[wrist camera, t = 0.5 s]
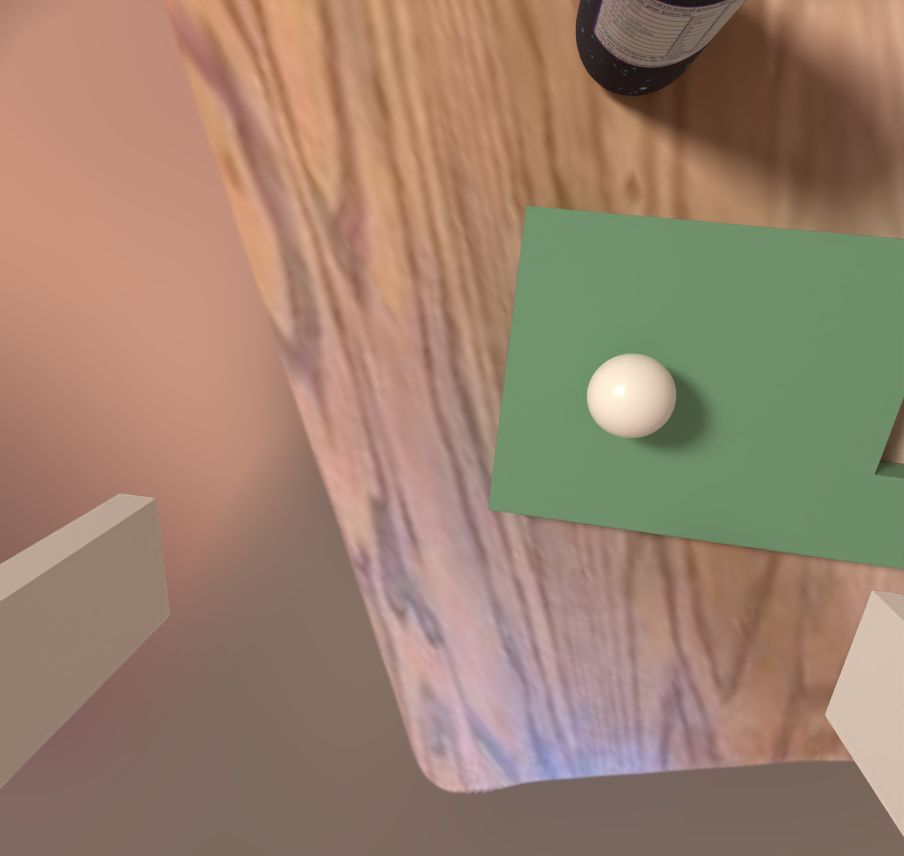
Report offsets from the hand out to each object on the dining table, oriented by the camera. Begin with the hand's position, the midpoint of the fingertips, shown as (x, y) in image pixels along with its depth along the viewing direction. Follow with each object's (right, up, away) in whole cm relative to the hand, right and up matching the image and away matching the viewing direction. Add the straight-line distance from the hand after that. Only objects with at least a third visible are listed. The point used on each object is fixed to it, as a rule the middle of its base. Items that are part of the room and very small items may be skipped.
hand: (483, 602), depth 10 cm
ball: (+8, +5, +17) cm, 20 cm away
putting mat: (+16, +5, +18) cm, 25 cm away
